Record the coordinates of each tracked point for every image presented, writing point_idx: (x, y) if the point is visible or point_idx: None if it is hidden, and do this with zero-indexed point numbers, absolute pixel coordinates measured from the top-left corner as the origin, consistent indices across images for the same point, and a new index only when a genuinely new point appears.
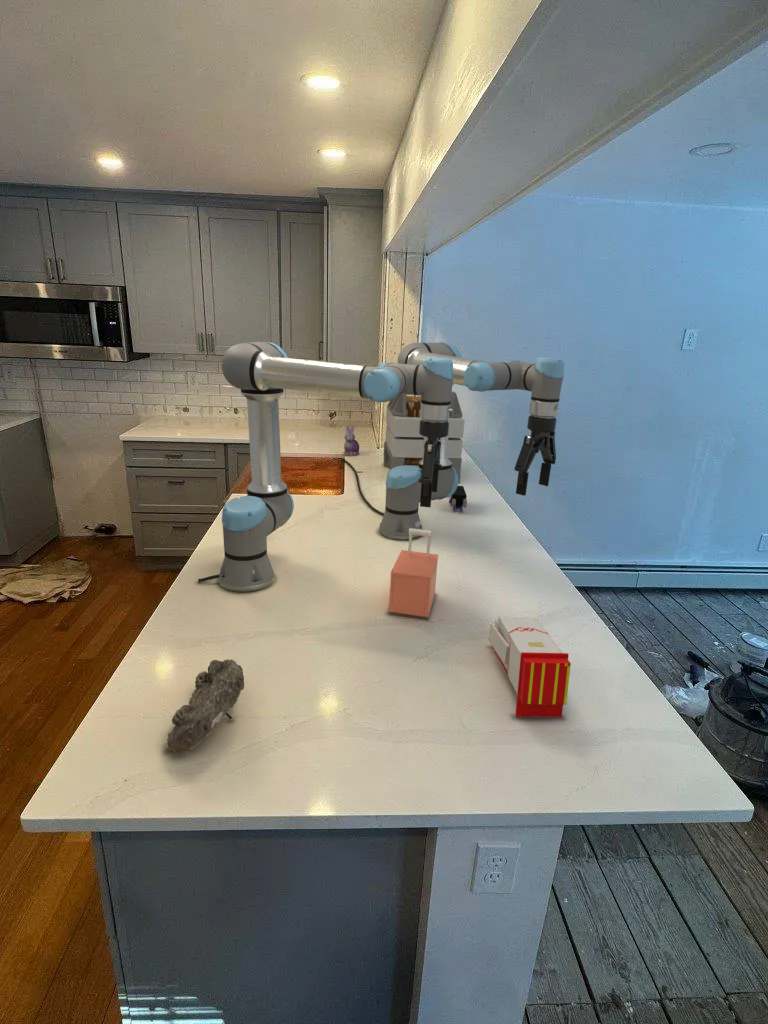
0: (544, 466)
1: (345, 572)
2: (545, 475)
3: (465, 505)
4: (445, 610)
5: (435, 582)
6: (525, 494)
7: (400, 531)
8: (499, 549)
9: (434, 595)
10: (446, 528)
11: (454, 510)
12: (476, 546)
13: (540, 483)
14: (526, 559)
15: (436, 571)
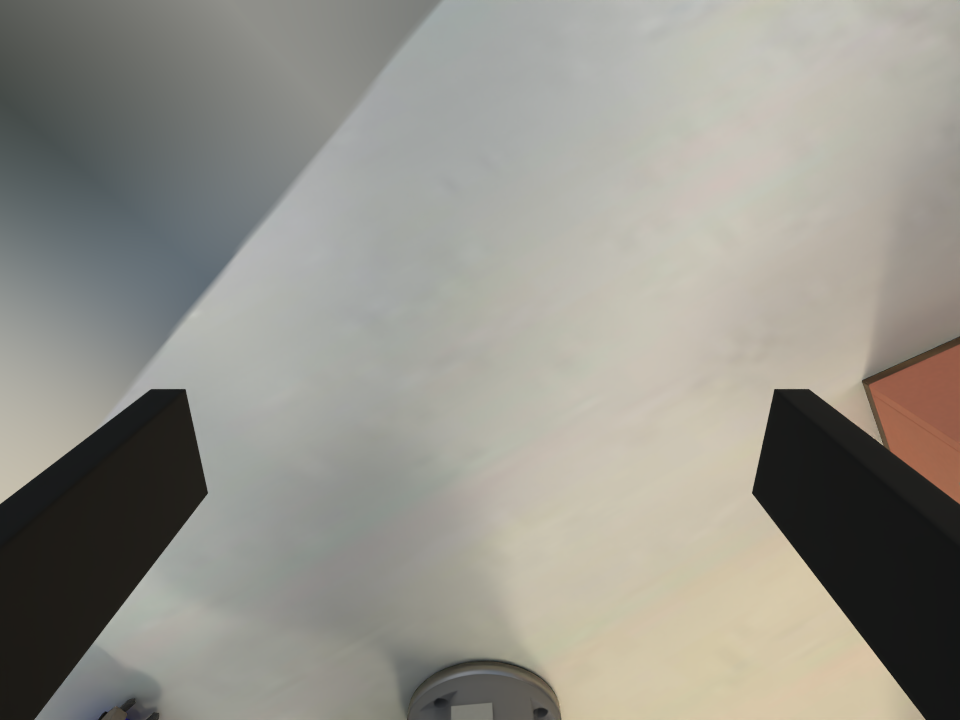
0: (4, 678)
1: None
2: (107, 514)
3: (118, 716)
4: (957, 287)
5: (916, 400)
6: (787, 394)
7: (533, 714)
8: (317, 429)
9: (875, 376)
10: (319, 649)
11: (156, 716)
12: (369, 501)
13: (198, 481)
14: (308, 302)
15: (948, 424)
